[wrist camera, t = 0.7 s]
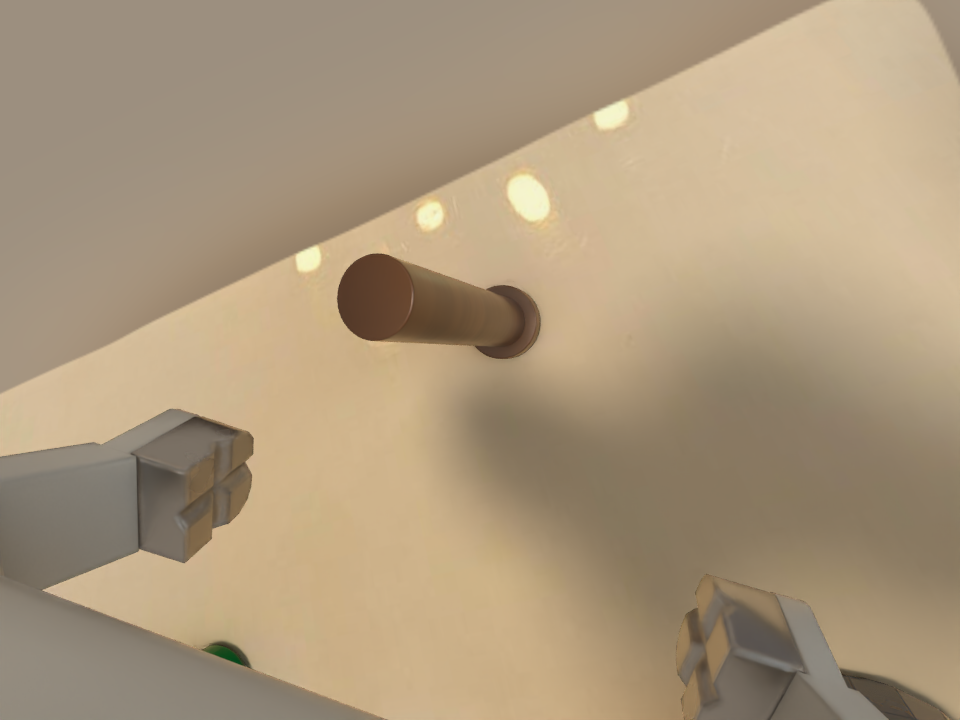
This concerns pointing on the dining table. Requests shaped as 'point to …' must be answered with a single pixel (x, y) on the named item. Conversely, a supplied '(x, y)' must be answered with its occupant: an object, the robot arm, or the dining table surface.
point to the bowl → (894, 701)
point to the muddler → (434, 308)
